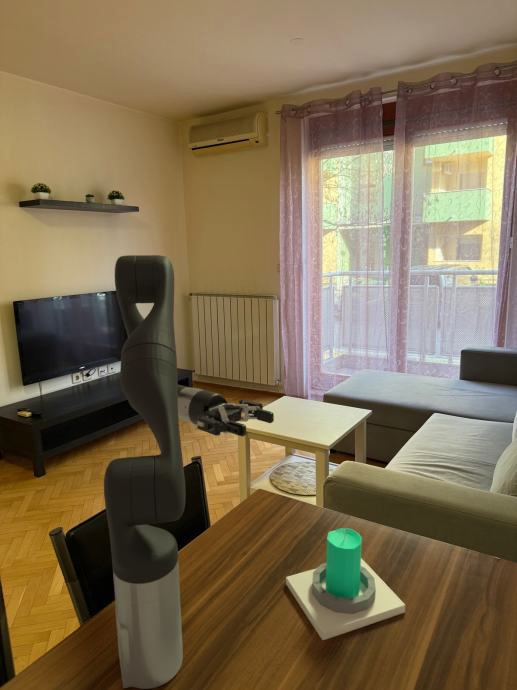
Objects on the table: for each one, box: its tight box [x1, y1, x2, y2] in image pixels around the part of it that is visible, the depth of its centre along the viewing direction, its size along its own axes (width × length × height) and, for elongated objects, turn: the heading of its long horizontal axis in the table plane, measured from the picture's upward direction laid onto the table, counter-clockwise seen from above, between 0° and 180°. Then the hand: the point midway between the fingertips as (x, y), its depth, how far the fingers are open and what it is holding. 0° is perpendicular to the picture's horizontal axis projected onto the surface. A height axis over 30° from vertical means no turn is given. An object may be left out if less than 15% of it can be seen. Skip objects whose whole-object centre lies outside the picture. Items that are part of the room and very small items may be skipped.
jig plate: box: [285, 557, 406, 641], centre depth 85 cm, size 16×14×4 cm
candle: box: [325, 527, 363, 598], centre depth 84 cm, size 6×6×12 cm
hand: (259, 424), depth 93 cm, fingers open, 8 cm apart
